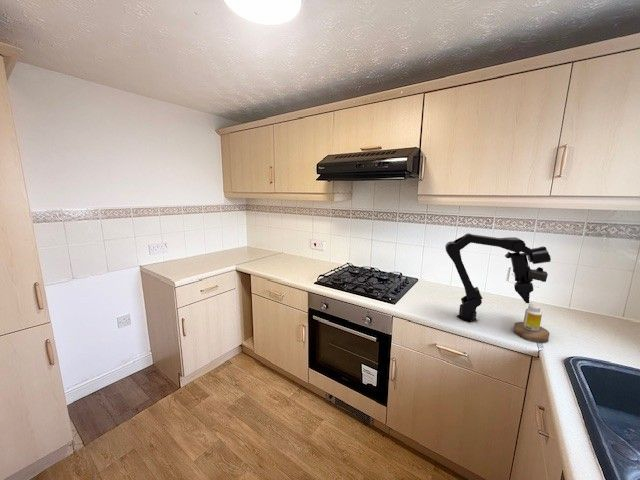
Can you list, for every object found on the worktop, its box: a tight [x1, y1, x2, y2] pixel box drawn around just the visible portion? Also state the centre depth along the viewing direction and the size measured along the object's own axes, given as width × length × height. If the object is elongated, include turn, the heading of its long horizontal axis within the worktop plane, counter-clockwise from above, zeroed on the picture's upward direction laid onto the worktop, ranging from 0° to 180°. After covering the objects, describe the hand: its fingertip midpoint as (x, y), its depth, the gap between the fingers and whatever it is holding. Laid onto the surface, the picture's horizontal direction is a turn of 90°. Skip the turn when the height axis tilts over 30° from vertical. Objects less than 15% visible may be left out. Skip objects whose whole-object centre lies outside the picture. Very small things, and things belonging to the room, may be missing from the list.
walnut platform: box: [512, 321, 550, 344], centre depth 114 cm, size 12×12×3 cm
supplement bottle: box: [522, 304, 543, 331], centre depth 113 cm, size 6×6×10 cm
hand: (527, 299), depth 117 cm, fingers open, 9 cm apart
